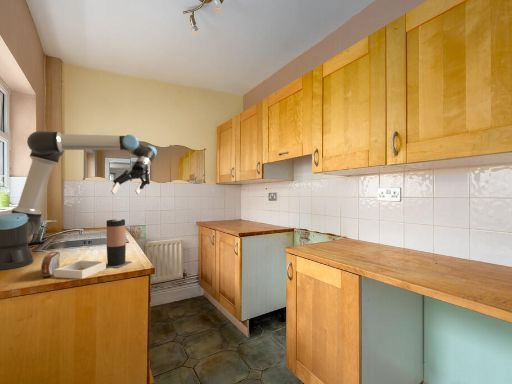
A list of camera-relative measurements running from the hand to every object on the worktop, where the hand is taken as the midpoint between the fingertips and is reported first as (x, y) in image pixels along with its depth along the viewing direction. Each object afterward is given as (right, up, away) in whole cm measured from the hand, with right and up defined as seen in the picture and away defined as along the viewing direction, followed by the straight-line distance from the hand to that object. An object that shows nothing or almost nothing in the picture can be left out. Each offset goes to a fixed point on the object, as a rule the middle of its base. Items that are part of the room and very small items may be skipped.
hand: (124, 192), depth 132 cm
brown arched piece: (-17, -34, -27) cm, 46 cm away
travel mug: (+4, -33, -15) cm, 36 cm away
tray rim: (-5, -33, -26) cm, 42 cm away
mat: (+4, -33, -15) cm, 36 cm away
